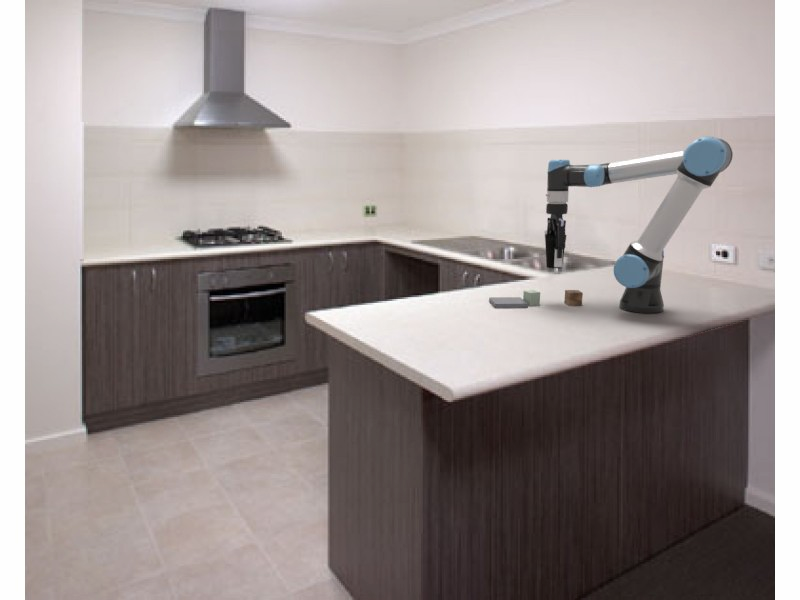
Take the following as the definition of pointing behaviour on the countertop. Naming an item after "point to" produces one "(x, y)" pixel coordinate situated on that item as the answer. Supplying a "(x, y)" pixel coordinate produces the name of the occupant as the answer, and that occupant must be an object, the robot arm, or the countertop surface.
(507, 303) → the plate
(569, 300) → the walnut block
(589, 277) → the countertop surface
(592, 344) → the countertop surface
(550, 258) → the cup
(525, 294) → the sage block
